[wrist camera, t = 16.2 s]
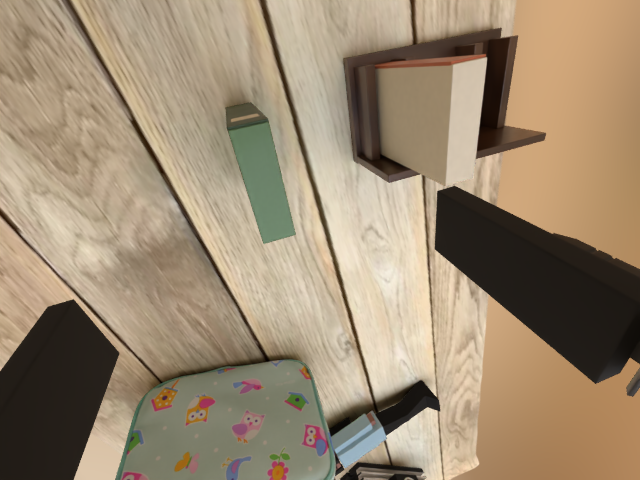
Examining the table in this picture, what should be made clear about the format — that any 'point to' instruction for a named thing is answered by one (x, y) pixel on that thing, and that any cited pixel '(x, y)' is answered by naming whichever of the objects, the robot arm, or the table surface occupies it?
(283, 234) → the green book
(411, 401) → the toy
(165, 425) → the lunch box
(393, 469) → the electronic device
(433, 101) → the cream book
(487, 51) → the book rack
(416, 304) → the table surface
